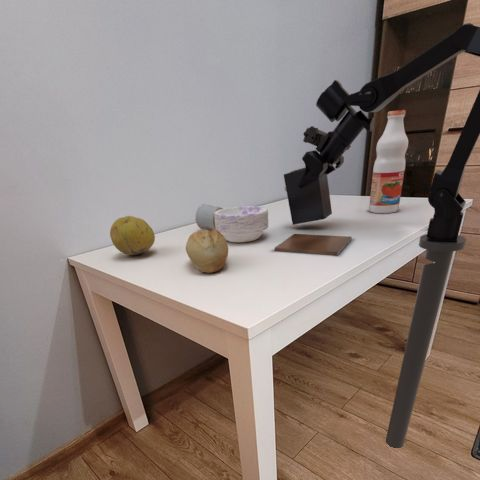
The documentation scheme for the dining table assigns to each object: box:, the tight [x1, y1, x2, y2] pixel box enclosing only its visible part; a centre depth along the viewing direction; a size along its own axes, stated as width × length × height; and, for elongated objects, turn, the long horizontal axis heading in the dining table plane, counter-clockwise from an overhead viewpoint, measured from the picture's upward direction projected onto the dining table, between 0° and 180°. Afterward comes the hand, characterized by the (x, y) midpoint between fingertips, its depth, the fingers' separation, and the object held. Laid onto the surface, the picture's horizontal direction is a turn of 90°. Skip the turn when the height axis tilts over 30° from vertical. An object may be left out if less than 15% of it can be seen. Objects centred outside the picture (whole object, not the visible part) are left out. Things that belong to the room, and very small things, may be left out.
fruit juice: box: [368, 109, 409, 214], centre depth 108 cm, size 9×9×28 cm
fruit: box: [109, 215, 156, 256], centre depth 91 cm, size 11×12×10 cm
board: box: [274, 233, 352, 256], centre depth 88 cm, size 16×14×1 cm
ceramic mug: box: [195, 203, 224, 231], centre depth 110 cm, size 11×8×8 cm
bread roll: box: [185, 228, 229, 274], centre depth 79 cm, size 10×15×8 cm, turn 17°
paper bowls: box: [214, 205, 269, 243], centre depth 97 cm, size 15×15×8 cm
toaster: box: [283, 167, 333, 226], centre depth 100 cm, size 12×7×14 cm, turn 59°
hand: (304, 185), depth 99 cm, fingers closed on toaster, 7 cm apart
